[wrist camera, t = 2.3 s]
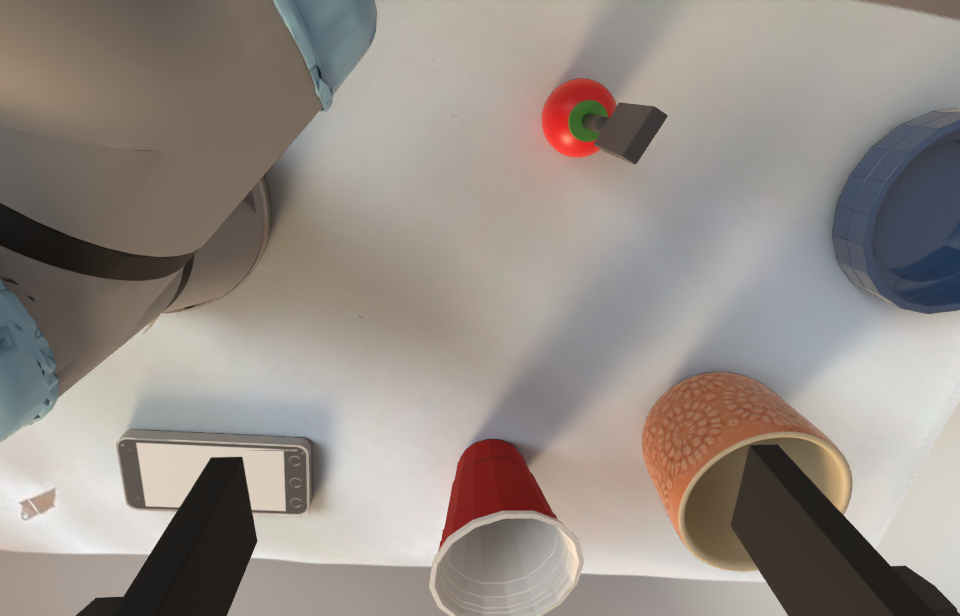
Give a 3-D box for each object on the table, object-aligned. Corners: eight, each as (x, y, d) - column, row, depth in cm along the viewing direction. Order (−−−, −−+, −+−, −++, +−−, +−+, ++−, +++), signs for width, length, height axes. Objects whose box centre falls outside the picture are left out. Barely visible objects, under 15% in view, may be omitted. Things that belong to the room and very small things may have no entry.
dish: (789, 242, 42) (822, 257, 39) (926, 68, 38) (978, 66, 35) (913, 322, 46) (955, 343, 42) (1052, 171, 42) (1111, 180, 38)
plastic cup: (528, 524, 51) (552, 645, 40) (416, 500, 50) (409, 620, 38) (572, 430, 48) (611, 535, 37) (453, 400, 46) (457, 501, 35)
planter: (722, 325, 45) (803, 396, 35) (792, 420, 49) (883, 508, 39) (599, 413, 47) (642, 503, 37) (676, 497, 51) (733, 598, 41)
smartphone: (309, 516, 48) (127, 510, 46) (312, 507, 49) (133, 500, 47) (308, 445, 45) (114, 436, 44) (311, 438, 46) (122, 429, 45)
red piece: (522, 130, 38) (569, 157, 24) (560, 64, 37) (633, 53, 23) (579, 165, 39) (655, 210, 25) (618, 102, 38) (721, 114, 24)
